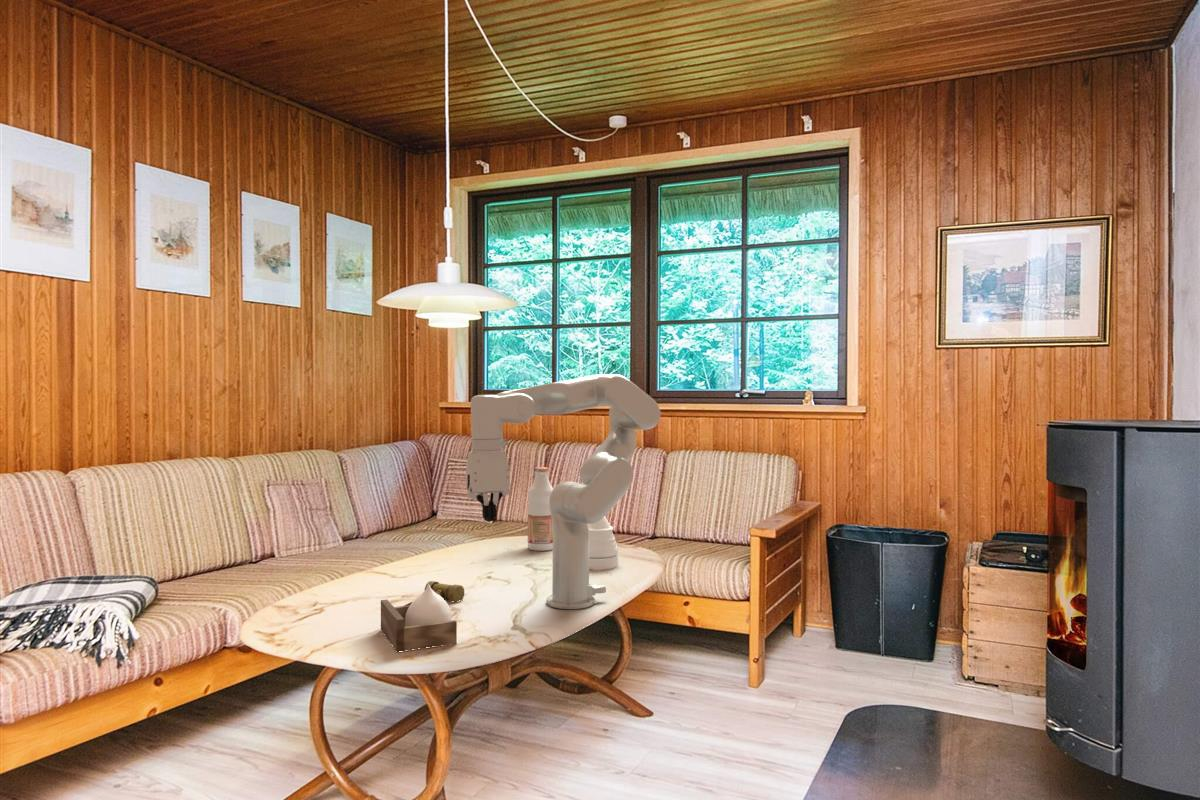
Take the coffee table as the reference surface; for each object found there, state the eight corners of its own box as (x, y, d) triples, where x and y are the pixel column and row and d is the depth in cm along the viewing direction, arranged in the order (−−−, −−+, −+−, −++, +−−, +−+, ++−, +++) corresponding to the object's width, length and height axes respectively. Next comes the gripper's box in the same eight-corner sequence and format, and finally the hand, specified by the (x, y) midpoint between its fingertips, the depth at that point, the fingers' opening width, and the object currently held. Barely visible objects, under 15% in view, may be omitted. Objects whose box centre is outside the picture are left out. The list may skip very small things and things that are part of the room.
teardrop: (409, 628, 185) (409, 577, 185) (456, 628, 185) (456, 577, 185) (398, 643, 174) (398, 589, 174) (448, 643, 174) (448, 589, 174)
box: (436, 622, 189) (436, 593, 189) (456, 644, 174) (456, 612, 174) (380, 630, 183) (380, 600, 183) (396, 652, 168) (396, 620, 168)
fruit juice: (522, 547, 275) (522, 467, 274) (545, 544, 281) (545, 465, 280) (537, 552, 267) (537, 469, 267) (560, 549, 273) (560, 468, 273)
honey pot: (577, 560, 257) (577, 504, 256) (617, 560, 257) (617, 504, 257) (577, 569, 244) (578, 511, 243) (619, 569, 244) (619, 511, 244)
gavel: (411, 608, 191) (380, 603, 195) (412, 627, 191) (381, 621, 196) (464, 583, 210) (434, 578, 214) (465, 600, 210) (435, 595, 214)
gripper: (509, 442, 199) (511, 514, 200) (452, 446, 192) (455, 521, 192) (522, 444, 192) (524, 519, 193) (463, 449, 185) (465, 526, 186)
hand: (489, 520), depth 193 cm, fingers closed
